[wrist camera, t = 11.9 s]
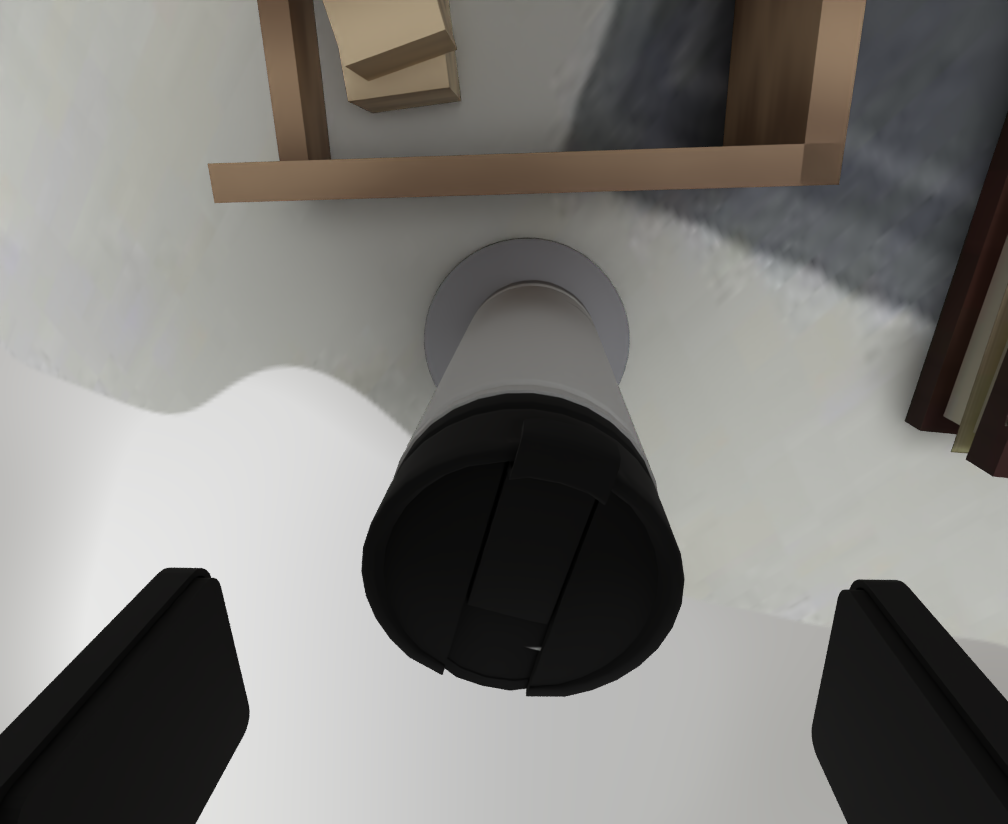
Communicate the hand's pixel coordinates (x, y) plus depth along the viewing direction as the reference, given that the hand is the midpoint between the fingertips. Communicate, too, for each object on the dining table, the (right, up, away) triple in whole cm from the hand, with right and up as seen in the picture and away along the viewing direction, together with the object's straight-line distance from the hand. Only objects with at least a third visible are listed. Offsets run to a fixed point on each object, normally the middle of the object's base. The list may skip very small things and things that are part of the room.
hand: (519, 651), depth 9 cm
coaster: (+1, +7, +21) cm, 22 cm away
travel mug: (+1, +7, +21) cm, 22 cm away
